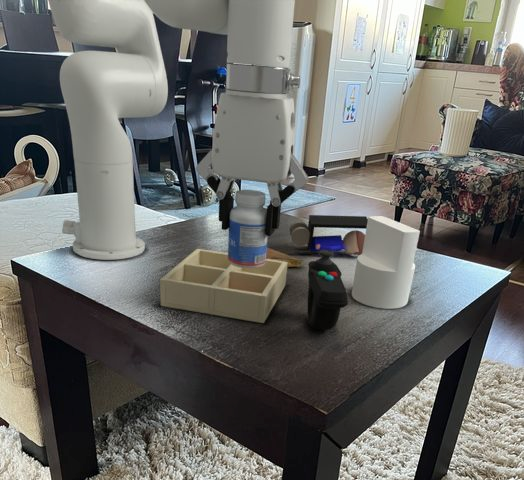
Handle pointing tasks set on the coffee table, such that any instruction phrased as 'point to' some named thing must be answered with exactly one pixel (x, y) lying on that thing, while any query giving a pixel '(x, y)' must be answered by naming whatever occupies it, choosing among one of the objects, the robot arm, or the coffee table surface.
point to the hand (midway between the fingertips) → (248, 229)
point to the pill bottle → (248, 230)
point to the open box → (223, 286)
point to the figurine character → (350, 242)
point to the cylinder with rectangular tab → (385, 264)
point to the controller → (325, 292)
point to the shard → (282, 258)
